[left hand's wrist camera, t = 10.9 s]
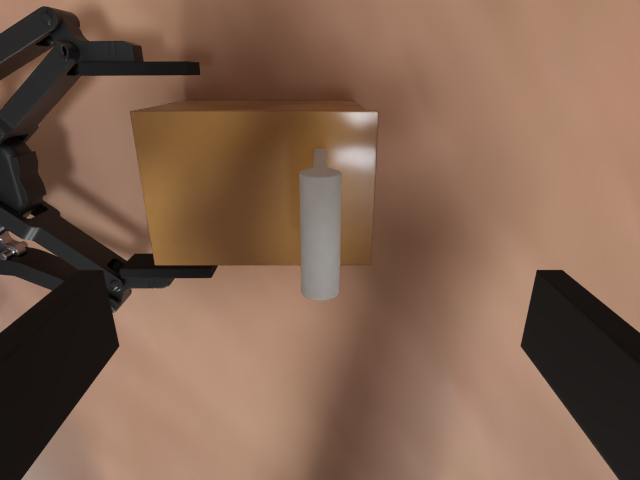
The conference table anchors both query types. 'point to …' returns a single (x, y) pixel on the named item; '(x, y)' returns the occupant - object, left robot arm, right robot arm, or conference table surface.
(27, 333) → the left robot arm
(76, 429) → the conference table surface
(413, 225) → the conference table surface
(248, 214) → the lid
